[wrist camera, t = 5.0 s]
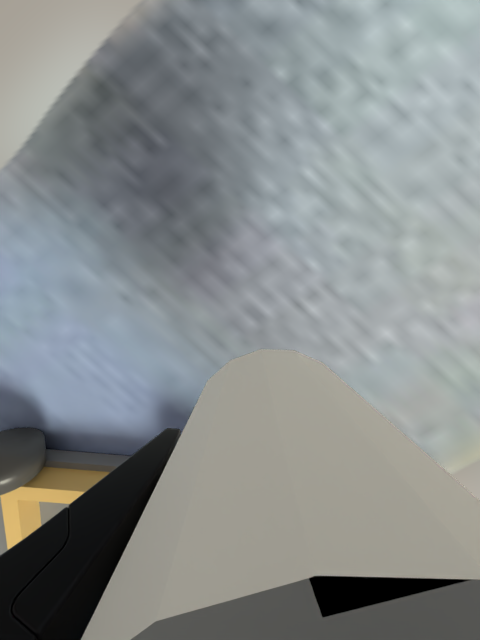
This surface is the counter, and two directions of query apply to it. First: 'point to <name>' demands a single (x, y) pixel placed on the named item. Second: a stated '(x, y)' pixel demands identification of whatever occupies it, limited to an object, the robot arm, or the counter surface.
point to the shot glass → (296, 522)
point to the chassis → (41, 481)
